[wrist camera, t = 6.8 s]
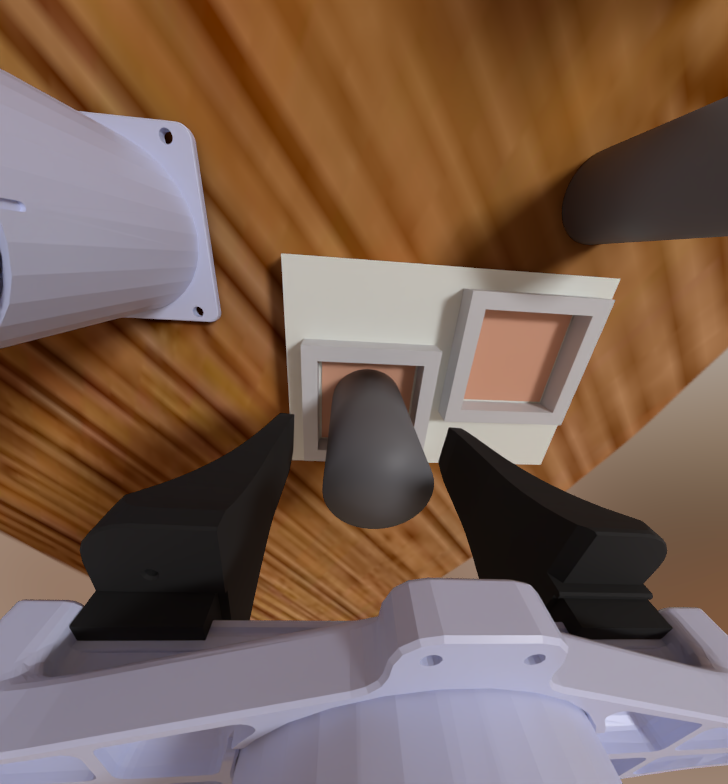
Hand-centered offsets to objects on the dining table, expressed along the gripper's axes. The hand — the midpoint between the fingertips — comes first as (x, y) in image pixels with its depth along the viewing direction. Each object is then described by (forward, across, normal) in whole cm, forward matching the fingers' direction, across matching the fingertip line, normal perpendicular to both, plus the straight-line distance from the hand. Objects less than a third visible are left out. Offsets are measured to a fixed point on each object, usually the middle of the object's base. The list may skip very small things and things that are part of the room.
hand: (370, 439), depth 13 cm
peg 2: (+5, -10, -12) cm, 16 cm away
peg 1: (+4, 0, 0) cm, 4 cm away
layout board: (+5, -4, -2) cm, 7 cm away
